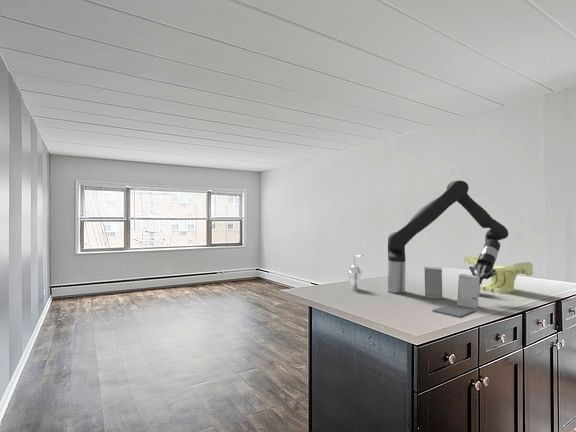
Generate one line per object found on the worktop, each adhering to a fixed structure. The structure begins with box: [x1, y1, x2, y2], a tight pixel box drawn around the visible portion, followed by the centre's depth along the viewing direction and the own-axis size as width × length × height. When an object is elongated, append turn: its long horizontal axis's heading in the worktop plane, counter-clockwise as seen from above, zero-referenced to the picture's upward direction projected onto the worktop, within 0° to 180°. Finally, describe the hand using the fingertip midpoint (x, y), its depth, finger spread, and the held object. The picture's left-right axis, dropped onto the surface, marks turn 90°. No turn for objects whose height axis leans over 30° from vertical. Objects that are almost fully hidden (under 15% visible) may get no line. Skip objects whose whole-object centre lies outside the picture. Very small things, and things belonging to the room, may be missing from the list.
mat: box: [431, 303, 477, 319], centre depth 155 cm, size 16×12×1 cm
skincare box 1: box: [424, 266, 443, 300], centre depth 180 cm, size 8×7×16 cm
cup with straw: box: [346, 254, 365, 291], centre depth 199 cm, size 8×9×20 cm
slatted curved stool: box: [463, 255, 534, 295], centre depth 200 cm, size 30×16×18 cm, turn 28°
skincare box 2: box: [456, 273, 480, 310], centre depth 163 cm, size 8×6×15 cm
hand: (477, 284), depth 169 cm, fingers closed
